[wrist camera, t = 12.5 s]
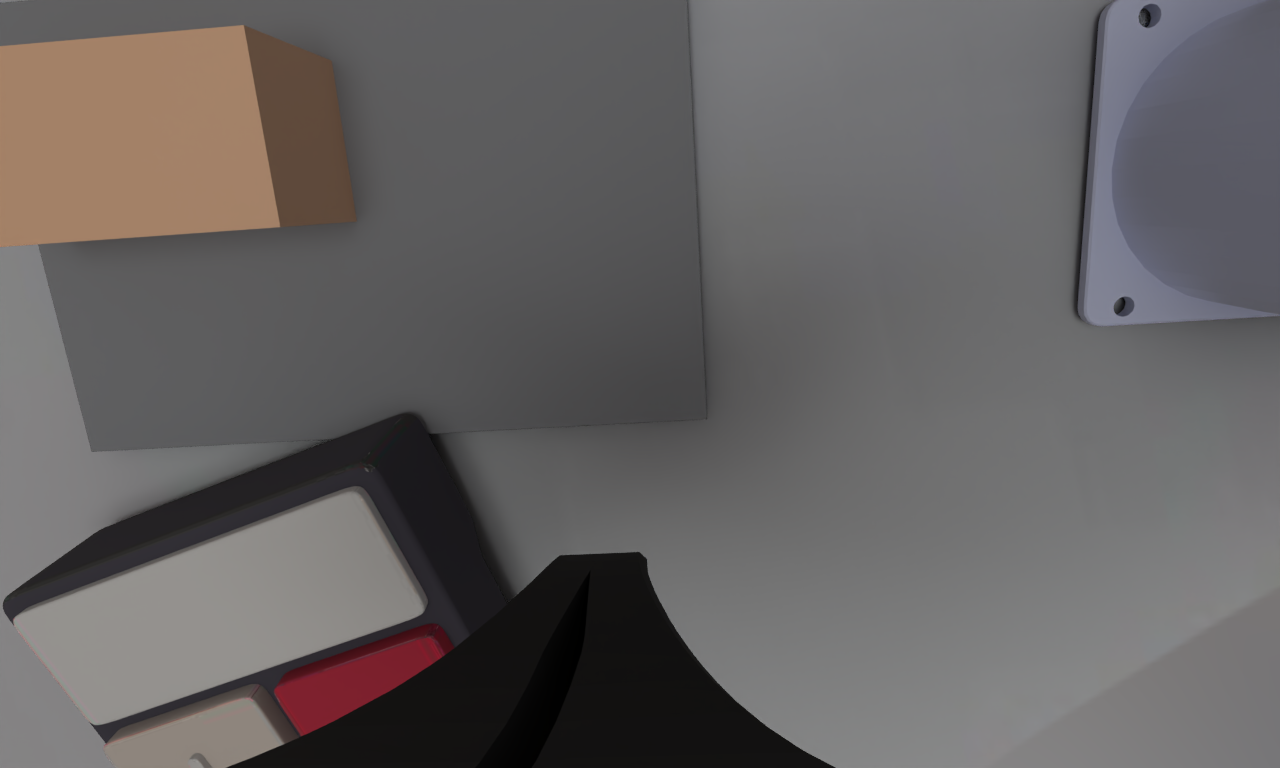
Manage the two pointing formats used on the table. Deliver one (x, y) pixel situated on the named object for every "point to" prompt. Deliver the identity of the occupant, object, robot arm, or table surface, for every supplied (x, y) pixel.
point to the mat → (415, 235)
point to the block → (167, 137)
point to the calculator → (262, 601)
